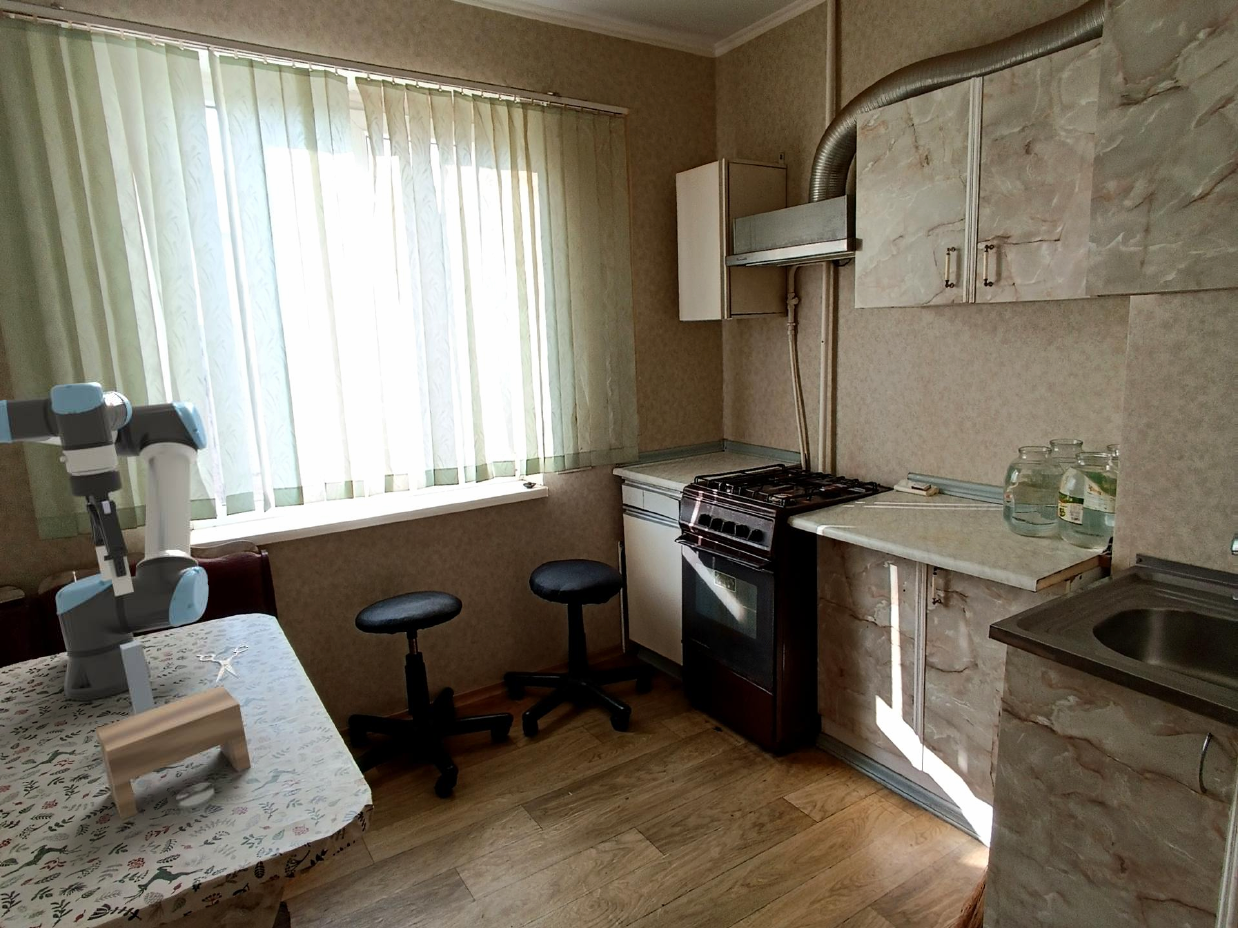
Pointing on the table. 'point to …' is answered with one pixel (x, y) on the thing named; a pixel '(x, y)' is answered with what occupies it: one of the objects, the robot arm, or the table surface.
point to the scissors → (222, 662)
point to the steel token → (195, 796)
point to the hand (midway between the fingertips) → (117, 586)
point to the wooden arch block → (170, 740)
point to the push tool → (137, 677)
